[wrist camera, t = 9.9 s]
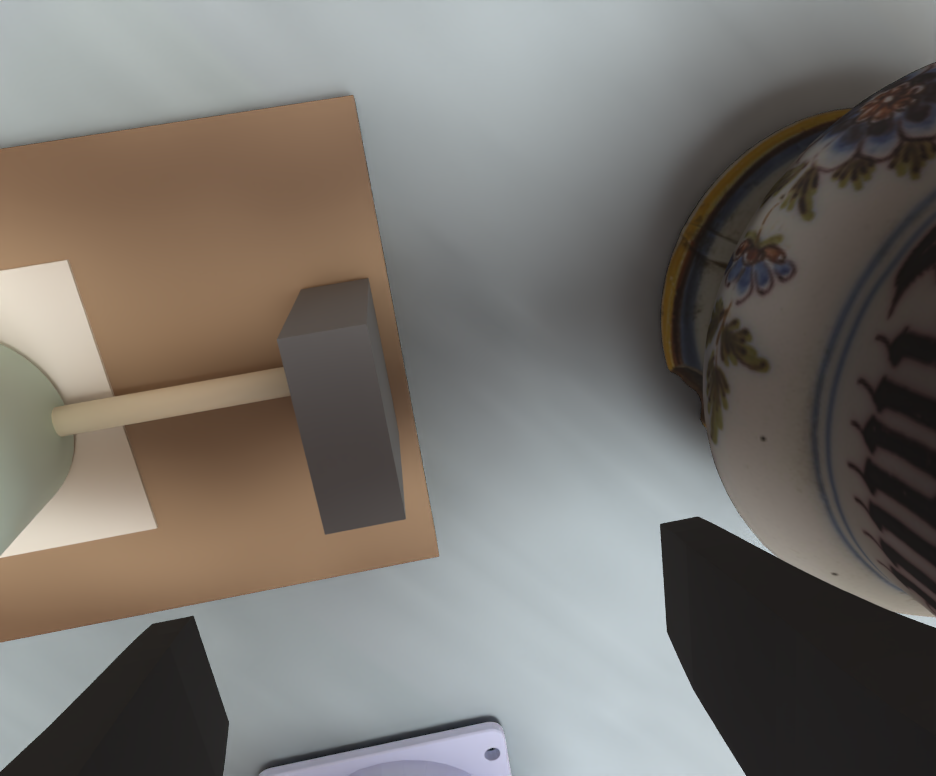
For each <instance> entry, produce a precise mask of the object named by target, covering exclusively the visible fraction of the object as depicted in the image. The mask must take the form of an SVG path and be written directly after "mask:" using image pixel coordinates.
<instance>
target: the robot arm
mask: <svg viewBox="0 0 936 776" xmlns="http://www.w3.org/2000/svg"><path fill="white" fill-rule="evenodd" d="M660 531H661V546H662V562H663V577H664V593H665V608H666V623H667V633H668V635H669V638H670V640H671V642H672V644H673V647H674V649H675V651H676V653H677V656H678V658H679V660H680V662H681V665H682V667H683V669H684V671H685V673H686V675H687V677H688V679H689V681H690V684H691V686H692V688H693V690H694V692H695V693H696V695H697V697H698V698H699V700H700V702H701V703H702V705H703V707H704V708H705V710H706V712H707V713H708V715H709V716H710V718H711V720H712V721H713V723H714V725H715V726H716V728H717V729H718V731H719V733H720V734H721V736H722V738H723V739H724V741H725V742H726V744H727V746H728V747H729V749H730V750H731V752H732V754H733V755H734V757H735V758H736V760H737V762H738V763H739V765H740V766H741V768H742V770H743V771H744V773H745V775H746V776H936V628H934V627H932V626H929V625H926V624H923V623H921V622H918V621H915V620H913V619H910V618H907V617H905V616H902V615H900V614H897V613H895V612H892V611H890V610H888V609H885V608H883V607H880V606H878V605H876V604H874V603H871V602H869V601H867V600H865V599H862V598H860V597H858V596H856V595H853V594H851V593H849V592H847V591H844V590H842V589H840V588H838V587H836V586H834V585H831V584H829V583H827V582H825V581H823V580H821V579H819V578H817V577H815V576H813V575H811V574H809V573H807V572H805V571H803V570H801V569H799V568H797V567H795V566H793V565H791V564H789V563H787V562H785V561H783V560H781V559H779V558H777V557H775V556H773V555H771V554H770V553H768V552H766V551H764V550H762V549H760V548H758V547H756V546H754V545H753V544H751V543H749V542H747V541H745V540H743V539H741V538H739V537H738V536H736V535H734V534H732V533H730V532H728V531H726V530H724V529H722V528H720V527H719V526H717V525H715V524H713V523H711V522H709V521H706V520H704V519H702V518H700V517H693V518H688V519H683V520H678V521H673V522H668V523H663V524H660ZM228 728H229V721H228V718H227V715H226V712H225V709H224V706H223V703H222V700H221V697H220V694H219V691H218V688H217V685H216V682H215V679H214V676H213V673H212V670H211V667H210V664H209V661H208V658H207V655H206V652H205V649H204V646H203V643H202V640H201V637H200V634H199V631H198V628H197V625H196V622H195V619H194V616H190V617H185V618H180V619H175V620H170V621H165V622H160V623H155V624H152V625H151V626H150V627H148V628H147V629H146V630H145V631H144V632H143V633H142V634H141V635H140V636H139V637H137V638H136V639H135V640H134V641H133V642H132V643H131V644H130V645H129V646H128V647H127V648H126V649H125V650H124V651H123V652H122V653H121V654H120V655H119V656H118V657H117V658H116V659H115V660H114V661H113V662H112V663H111V664H110V665H109V666H108V667H107V668H106V669H105V671H104V672H103V673H102V674H101V675H100V676H99V677H98V678H97V679H96V680H95V681H94V682H93V683H92V684H91V685H90V686H89V687H88V688H87V689H86V690H85V691H84V692H83V693H82V694H81V695H80V696H79V697H78V698H77V699H76V700H75V701H74V702H73V703H72V704H71V705H70V706H69V707H68V708H67V709H66V710H65V711H64V712H63V713H62V714H61V715H60V716H59V717H58V718H57V719H56V720H55V721H54V722H53V723H52V724H51V725H50V726H49V727H48V728H47V729H46V730H45V731H44V732H42V733H41V734H40V735H39V736H38V737H37V738H36V739H35V740H34V741H33V742H32V743H31V744H30V745H29V746H27V747H26V748H25V749H24V750H23V751H22V752H21V753H20V754H19V755H18V756H17V757H16V758H15V759H14V760H12V761H11V762H10V763H9V764H8V765H7V766H6V767H5V768H4V769H3V770H2V771H1V772H0V776H223V770H224V763H225V755H226V746H227V737H228ZM490 748H496V749H495V750H492V751H487V750H488V749H490ZM259 776H512V775H511V769H510V763H509V757H508V751H507V745H506V739H505V735H504V730H503V728H502V726H501V725H499V724H498V723H495V722H485V723H480V724H475V725H471V726H466V727H461V728H456V729H452V730H447V731H442V732H438V733H433V734H428V735H423V736H419V737H414V738H409V739H405V740H400V741H395V742H390V743H386V744H381V745H376V746H372V747H367V748H362V749H357V750H353V751H348V752H343V753H339V754H334V755H329V756H324V757H320V758H315V759H310V760H306V761H301V762H296V763H291V764H287V765H282V766H277V767H273V768H269V769H266V770H264V771H262V772H261V773H260V774H259Z"/></svg>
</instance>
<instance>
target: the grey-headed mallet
mask: <svg viewBox="0 0 936 776" xmlns="http://www.w3.org/2000/svg"><path fill="white" fill-rule="evenodd" d="M277 342H278V347H279V351H280V355H281V359H282V363H283V367H280V368H274V369H268V370H263V371H257V372H251V373H246V374H240V375H234V376H229V377H223V378H217V379H212V380H206V381H200V382H195V383H189V384H183V385H177V386H172V387H166V388H160V389H155V390H149V391H143V392H138V393H132V394H126V395H121V396H115V397H109V398H104V399H98V400H92V401H87V402H81V403H75V404H70V405H65V404H64V402H63V400H62V399H61V397H60V395H59V394H58V392H57V390H56V389H55V388H54V386H53V385H52V384H51V382H50V381H49V380H48V379H47V377H46V376H45V375H44V374H43V373H42V372H41V371H40V370H39V369H38V368H37V367H35V366H34V365H33V364H32V363H30V362H29V361H28V360H27V359H25V358H24V357H23V356H21V355H19V354H18V353H16V352H15V351H13V350H12V349H10V348H8V347H6V346H4V345H2V344H0V556H1V555H2V553H3V552H4V551H5V550H6V549H7V548H8V547H9V546H10V544H11V543H12V542H13V541H14V540H15V539H16V538H17V537H18V536H19V534H20V533H21V532H22V531H23V530H24V529H25V528H26V527H27V525H28V524H29V523H30V522H31V521H32V520H33V519H34V518H35V517H36V515H37V514H38V513H39V512H40V511H41V510H42V509H43V508H44V506H45V505H46V504H47V503H48V502H49V501H50V500H51V499H52V498H53V496H54V495H55V494H56V493H57V491H58V490H59V489H60V487H61V486H62V485H63V483H64V481H65V479H66V477H67V475H68V473H69V470H70V467H71V464H72V459H73V453H74V435H73V434H79V433H85V432H90V431H96V430H101V429H107V428H112V427H118V426H124V425H129V424H135V423H140V422H146V421H152V420H157V419H163V418H168V417H174V416H180V415H185V414H191V413H196V412H202V411H208V410H213V409H219V408H224V407H230V406H235V405H241V404H247V403H252V402H258V401H263V400H269V399H275V398H280V397H286V396H291V399H292V403H293V407H294V411H295V415H296V420H297V424H298V428H299V432H300V436H301V440H302V444H303V448H304V452H305V456H306V460H307V464H308V468H309V472H310V476H311V480H312V484H313V488H314V493H315V497H316V501H317V505H318V509H319V513H320V517H321V521H322V525H323V529H324V533H325V535H327V534H332V533H337V532H342V531H348V530H353V529H358V528H363V527H368V526H374V525H379V524H384V523H389V522H394V521H400V520H405V519H406V513H405V501H404V489H403V477H402V465H401V453H400V441H399V431H398V426H397V421H396V415H395V410H394V405H393V400H392V395H391V390H390V385H389V380H388V375H387V369H386V364H385V359H384V354H383V349H382V344H381V339H380V334H379V329H378V324H377V318H376V313H375V308H374V303H373V298H372V293H371V288H370V283H369V278H366V279H360V280H354V281H348V282H342V283H336V284H330V285H324V286H318V287H312V288H306V289H301V290H300V292H299V294H298V297H297V299H296V301H295V303H294V305H293V307H292V309H291V311H290V313H289V315H288V317H287V319H286V321H285V323H284V325H283V328H282V330H281V332H280V334H279V336H278V338H277Z"/></svg>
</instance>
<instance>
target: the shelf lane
mask: <svg viewBox="0 0 936 776" xmlns="http://www.w3.org/2000/svg"><path fill="white" fill-rule="evenodd" d="M366 278H369V283H370V288H371V293H372V298H373V303H374V308H375V313H376V318H377V324H378V329H379V334H380V339H381V344H382V349H383V354H384V359H385V364H386V369H387V375H388V380H389V385H390V390H391V395H392V400H393V405H394V410H395V415H396V421H397V426H398V431H399V441H400V453H401V465H402V477H403V489H404V501H405V513H406V519H405V520H400V521H394V522H389V523H384V524H379V525H374V526H368V527H363V528H358V529H353V530H348V531H342V532H337V533H332V534H327V535H325V533H324V529H323V525H322V521H321V517H320V513H319V509H318V505H317V501H316V497H315V493H314V488H313V484H312V480H311V476H310V472H309V468H308V464H307V460H306V456H305V452H304V448H303V444H302V440H301V436H300V432H299V428H298V424H297V420H296V415H295V411H294V407H293V403H292V399H291V396H286V397H280V398H275V399H269V400H263V401H258V402H252V403H247V404H241V405H235V406H230V407H224V408H219V409H213V410H208V411H202V412H196V413H191V414H185V415H180V416H174V417H168V418H163V419H157V420H152V421H146V422H140V423H135V424H129V425H124V426H118V427H112V428H107V429H101V430H96V431H90V432H85V433H79V434H73V435H74V453H73V459H72V464H71V467H70V470H69V473H68V475H67V477H66V479H65V481H64V483H63V485H62V486H61V487H60V489H59V490H58V491H57V493H56V494H55V495H54V496H53V498H52V499H51V500H50V501H49V502H48V503H47V504H46V505H45V506H44V508H43V509H42V510H41V511H40V512H39V513H38V514H37V515H36V517H35V518H34V519H33V520H32V521H31V522H30V523H29V524H28V525H27V527H26V528H25V529H24V530H23V531H22V532H21V533H20V534H19V536H18V537H17V538H16V539H15V540H14V541H13V542H12V543H11V544H10V546H9V547H8V548H7V549H6V550H5V551H4V552H3V553H2V555H1V556H0V642H5V641H10V640H15V639H20V638H25V637H30V636H35V635H41V634H46V633H51V632H56V631H61V630H66V629H71V628H76V627H81V626H86V625H92V624H97V623H102V622H107V621H112V620H117V619H122V618H127V617H132V616H138V615H143V614H148V613H153V612H158V611H163V610H168V609H173V608H178V607H183V606H189V605H194V604H199V603H204V602H209V601H214V600H219V599H224V598H229V597H234V596H240V595H245V594H250V593H255V592H260V591H265V590H270V589H275V588H280V587H286V586H291V585H296V584H301V583H306V582H311V581H316V580H321V579H326V578H331V577H337V576H342V575H347V574H352V573H357V572H362V571H367V570H372V569H377V568H383V567H388V566H393V565H398V564H403V563H408V562H413V561H418V560H423V559H428V558H434V557H439V552H438V545H437V539H436V533H435V527H434V522H433V517H432V511H431V506H430V501H429V495H428V490H427V485H426V479H425V474H424V468H423V463H422V458H421V452H420V447H419V442H418V436H417V431H416V426H415V420H414V415H413V410H412V404H411V399H410V393H409V388H408V383H407V377H406V372H405V367H404V361H403V356H402V351H401V345H400V340H399V334H398V329H397V324H396V318H395V313H394V308H393V302H392V297H391V292H390V286H389V281H388V276H387V270H386V265H385V259H384V254H383V249H382V243H381V238H380V233H379V227H378V222H377V217H376V211H375V206H374V201H373V195H372V190H371V184H370V179H369V174H368V168H367V163H366V158H365V152H364V147H363V142H362V136H361V131H360V126H359V120H358V115H357V109H356V104H355V99H354V96H353V95H351V96H344V97H337V98H331V99H324V100H318V101H311V102H305V103H298V104H292V105H285V106H278V107H272V108H265V109H259V110H252V111H246V112H239V113H233V114H226V115H219V116H213V117H206V118H200V119H193V120H187V121H180V122H174V123H167V124H160V125H154V126H147V127H141V128H134V129H128V130H121V131H115V132H108V133H102V134H95V135H88V136H82V137H75V138H69V139H62V140H56V141H49V142H43V143H36V144H29V145H23V146H16V147H10V148H3V149H0V344H2V345H4V346H6V347H8V348H10V349H12V350H13V351H15V352H16V353H18V354H19V355H21V356H23V357H24V358H25V359H27V360H28V361H29V362H30V363H32V364H33V365H34V366H35V367H37V368H38V369H39V370H40V371H41V372H42V373H43V374H44V375H45V376H46V377H47V379H48V380H49V381H50V382H51V384H52V385H53V386H54V388H55V389H56V390H57V392H58V394H59V395H60V397H61V399H62V400H63V402H64V404H65V405H70V404H75V403H81V402H87V401H92V400H98V399H104V398H109V397H115V396H121V395H126V394H132V393H138V392H143V391H149V390H155V389H160V388H166V387H172V386H177V385H183V384H189V383H195V382H200V381H206V380H212V379H217V378H223V377H229V376H234V375H240V374H246V373H251V372H257V371H263V370H268V369H274V368H280V367H283V363H282V359H281V355H280V351H279V347H278V342H277V338H278V336H279V334H280V332H281V330H282V328H283V325H284V323H285V321H286V319H287V317H288V315H289V313H290V311H291V309H292V307H293V305H294V303H295V301H296V299H297V297H298V294H299V292H300V290H301V289H306V288H312V287H318V286H324V285H330V284H336V283H342V282H348V281H354V280H360V279H366Z"/></svg>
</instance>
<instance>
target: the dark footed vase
mask: <svg viewBox="0 0 936 776" xmlns="http://www.w3.org/2000/svg"><path fill="white" fill-rule="evenodd" d="M661 334H662V344H663V349H664V355H665V359H666V363H667V367H668V369H669V371H670V372H673V373H675V374H677V375H678V376H679V377H681V379H682V380H683V381H684V382H685V383H686V384H687V385H688V386H690V387H691V388H692V389H694V390H695V391H696V392H697V393H698V395H699V396H700V399H701V404H702V407H701V417H700V420H701V422H702V424H703V425H704V426H705V427H706V429H707V434H708V439H709V444H710V448H711V452H712V456H713V459H714V462H715V465H716V468H717V471H718V473H719V476H720V478H721V481H722V483H723V485H724V487H725V489H726V491H727V493H728V495H729V497H730V499H731V501H732V503H733V504H734V506H735V508H736V509H737V511H738V513H739V514H740V516H741V517H742V518H743V520H744V521H745V523H746V524H747V525H748V527H749V528H750V529H751V530H752V532H753V533H754V534H755V535H756V536H757V538H758V539H759V540H760V541H761V542H762V544H763V545H764V546H765V547H766V548H768V549H769V550H770V551H771V552H772V553H773V554H774V555H775V556H777V557H778V558H779V559H781V560H783V561H785V562H787V563H789V564H791V565H793V566H795V567H797V568H799V569H801V570H803V571H805V572H807V573H809V574H811V575H813V576H815V577H817V578H819V579H821V580H823V581H825V582H827V583H829V584H831V585H834V586H836V587H838V588H840V589H842V590H844V591H847V592H849V593H851V594H853V595H856V596H858V597H860V598H862V599H865V600H867V601H869V602H871V603H874V604H876V605H878V606H880V607H883V608H885V609H888V610H890V611H892V612H896V613H902V614H908V615H917V616H927V617H936V62H935V63H932V64H930V65H927V66H925V67H923V68H921V69H919V70H916V71H914V72H912V73H910V74H908V75H906V76H904V77H902V78H901V79H899V80H897V81H895V82H893V83H892V84H890V85H888V86H886V87H885V88H883V89H881V90H880V91H878V92H876V93H875V94H873V95H872V96H870V97H868V98H867V99H865V100H864V101H862V102H861V103H859V104H858V105H857V106H855V107H854V108H846V109H840V110H834V111H828V112H824V113H820V114H817V115H814V116H810V117H807V118H805V119H802V120H799V121H797V122H795V123H793V124H790V125H788V126H786V127H784V128H782V129H780V130H778V131H776V132H775V133H773V134H771V135H770V136H768V137H767V138H765V139H763V140H762V141H760V142H759V143H757V144H756V145H754V146H753V147H752V148H750V149H749V150H748V151H746V152H745V153H744V154H743V155H742V156H740V157H739V158H738V159H737V160H736V161H735V162H734V163H733V164H731V165H730V166H729V167H728V168H727V169H726V170H725V171H724V172H723V173H722V174H721V175H720V177H719V178H718V179H717V180H716V181H715V182H714V183H713V184H712V186H711V187H710V188H709V189H708V191H707V192H706V193H705V195H704V196H703V197H702V199H701V200H700V202H699V203H698V204H697V206H696V207H695V209H694V211H693V212H692V214H691V215H690V217H689V218H688V220H687V222H686V224H685V226H684V227H683V229H682V231H681V233H680V236H679V239H678V241H677V244H676V246H675V248H674V251H673V254H672V257H671V260H670V263H669V266H668V270H667V273H666V278H665V282H664V288H663V294H662V302H661Z"/></svg>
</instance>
